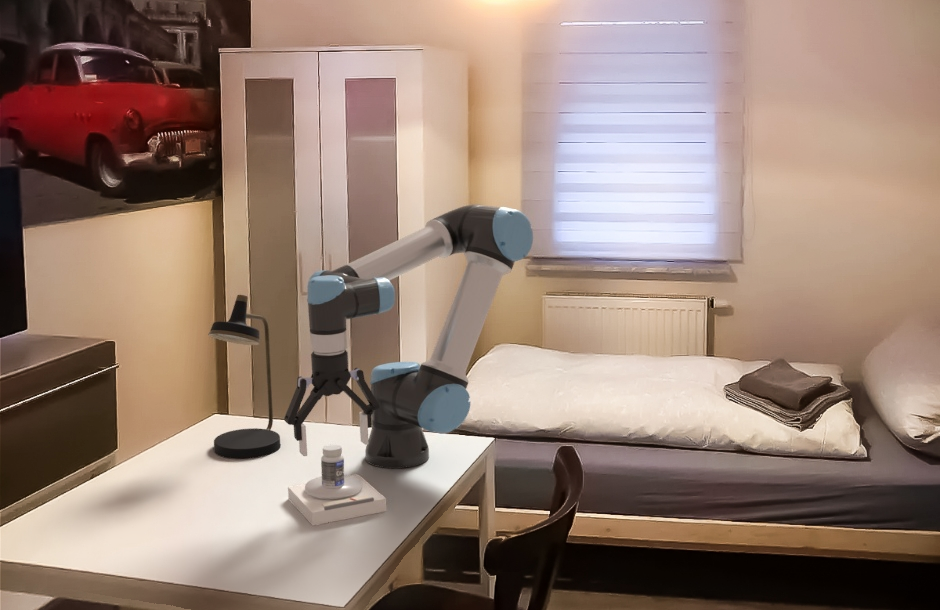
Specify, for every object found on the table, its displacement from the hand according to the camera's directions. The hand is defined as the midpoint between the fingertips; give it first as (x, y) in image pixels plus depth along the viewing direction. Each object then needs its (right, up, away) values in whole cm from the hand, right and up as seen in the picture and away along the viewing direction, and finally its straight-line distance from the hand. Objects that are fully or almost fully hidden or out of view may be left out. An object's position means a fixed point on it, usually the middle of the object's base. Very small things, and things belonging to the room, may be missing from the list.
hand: (334, 448), depth 219 cm
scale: (0, -12, +1) cm, 12 cm away
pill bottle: (0, -8, +1) cm, 8 cm away
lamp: (-26, -5, +39) cm, 47 cm away
